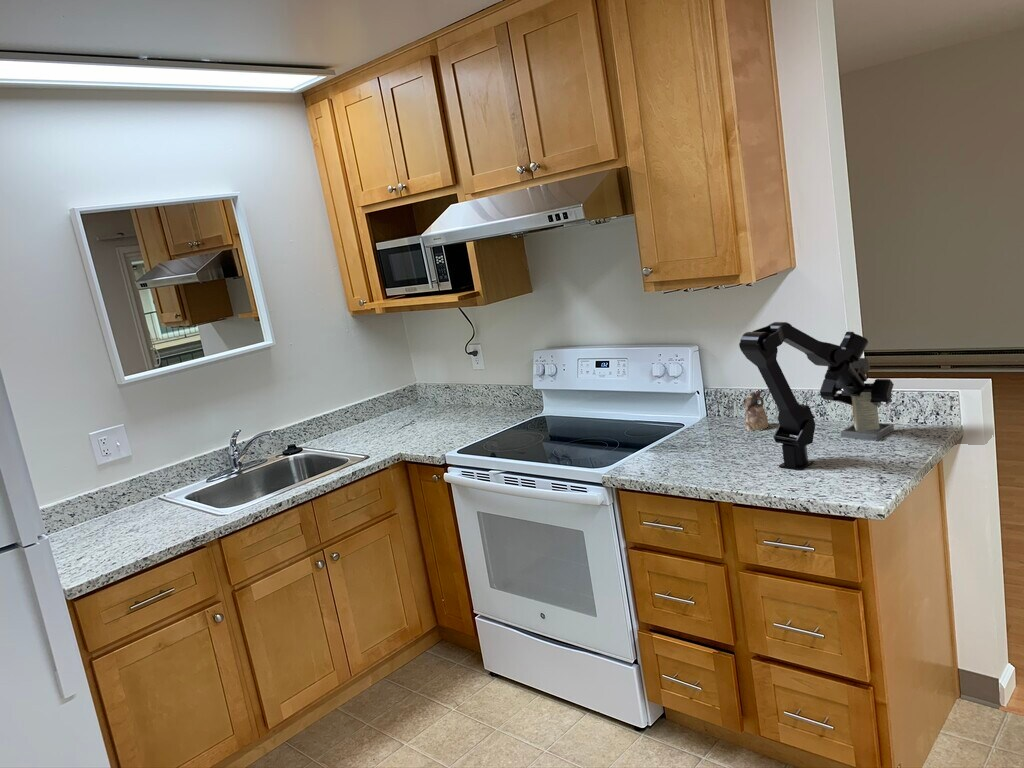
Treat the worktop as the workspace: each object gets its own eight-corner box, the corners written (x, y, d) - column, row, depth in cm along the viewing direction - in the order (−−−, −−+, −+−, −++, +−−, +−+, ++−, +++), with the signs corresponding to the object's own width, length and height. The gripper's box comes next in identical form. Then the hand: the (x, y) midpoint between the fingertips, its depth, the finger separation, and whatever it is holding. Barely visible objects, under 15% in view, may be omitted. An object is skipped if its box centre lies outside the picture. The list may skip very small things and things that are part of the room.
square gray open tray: (877, 440, 210) (876, 434, 210) (840, 437, 218) (840, 431, 218) (894, 430, 217) (893, 424, 216) (858, 427, 225) (857, 421, 224)
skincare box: (877, 425, 218) (874, 383, 216) (880, 429, 214) (876, 387, 212) (853, 427, 220) (849, 386, 218) (855, 431, 216) (851, 389, 214)
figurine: (744, 426, 246) (739, 390, 244) (767, 423, 245) (762, 387, 243) (746, 432, 240) (742, 395, 237) (770, 429, 238) (765, 392, 236)
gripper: (887, 350, 204) (908, 381, 212) (820, 350, 218) (842, 380, 227) (877, 385, 200) (898, 415, 209) (809, 384, 214) (831, 412, 223)
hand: (866, 404), depth 217 cm, fingers closed on skincare box, 7 cm apart
